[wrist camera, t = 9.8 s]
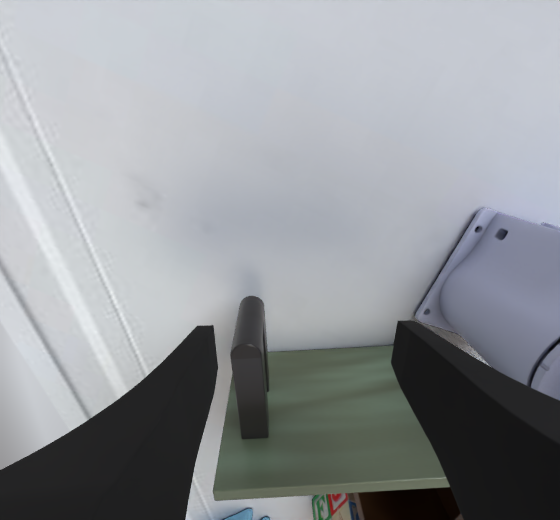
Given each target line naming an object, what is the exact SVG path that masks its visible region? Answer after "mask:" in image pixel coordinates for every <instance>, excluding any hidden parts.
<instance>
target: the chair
mask: <svg viewBox="0 0 560 520" xmlns="http://www.w3.org/2000/svg"><path fill="white" fill-rule="evenodd" d="M252 513H253V511H252V509H246V510H244V511H242V512H240V513H238V514H236V515H233V516H231V517H229V518H226V519H224V520H252ZM261 520H270V518H269V517H265V518H263V519H261Z"/></svg>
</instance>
